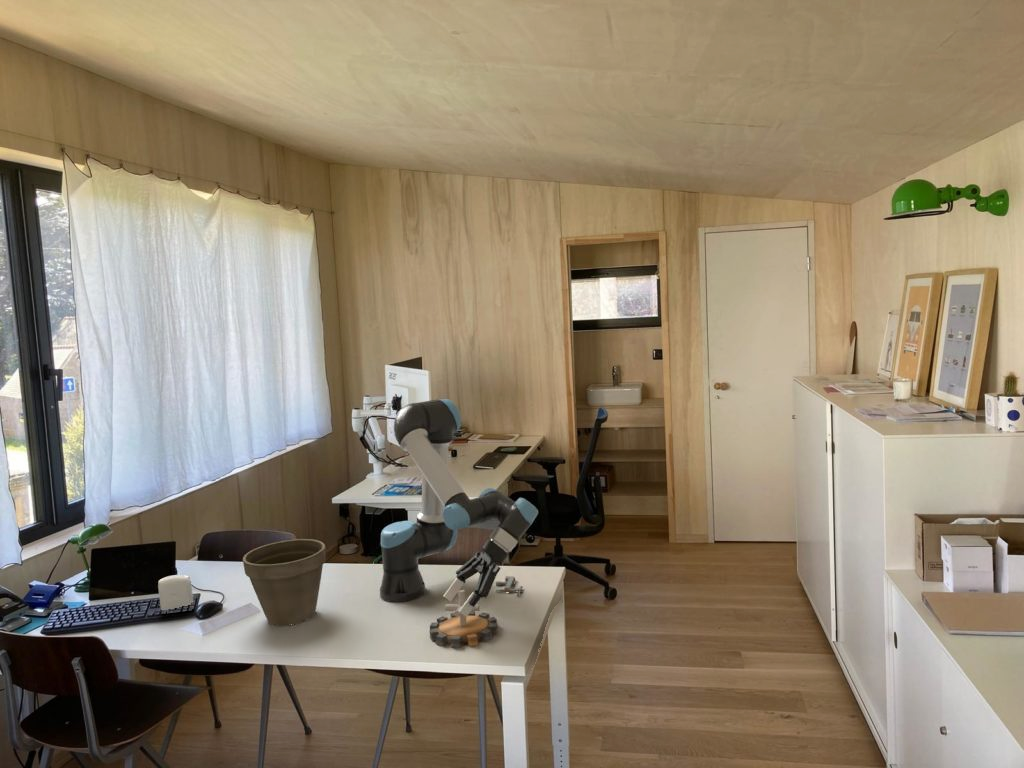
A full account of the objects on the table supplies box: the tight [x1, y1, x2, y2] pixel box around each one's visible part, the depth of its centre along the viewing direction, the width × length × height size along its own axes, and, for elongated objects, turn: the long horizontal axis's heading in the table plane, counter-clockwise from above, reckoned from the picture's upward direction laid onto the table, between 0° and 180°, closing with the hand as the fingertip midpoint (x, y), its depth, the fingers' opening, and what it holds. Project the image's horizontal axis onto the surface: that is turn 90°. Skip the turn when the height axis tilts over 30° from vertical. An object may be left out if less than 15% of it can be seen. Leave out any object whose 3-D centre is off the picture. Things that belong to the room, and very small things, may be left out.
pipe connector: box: [444, 589, 481, 626], centre depth 222 cm, size 10×10×10 cm
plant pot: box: [242, 538, 327, 627], centre depth 242 cm, size 25×25×22 cm
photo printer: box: [157, 574, 194, 611], centre depth 253 cm, size 10×4×12 cm, turn 100°
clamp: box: [495, 575, 524, 597], centre depth 255 cm, size 15×2×10 cm
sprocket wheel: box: [429, 611, 499, 649], centre depth 222 cm, size 20×20×2 cm
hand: (454, 606), depth 221 cm, fingers open, 13 cm apart
